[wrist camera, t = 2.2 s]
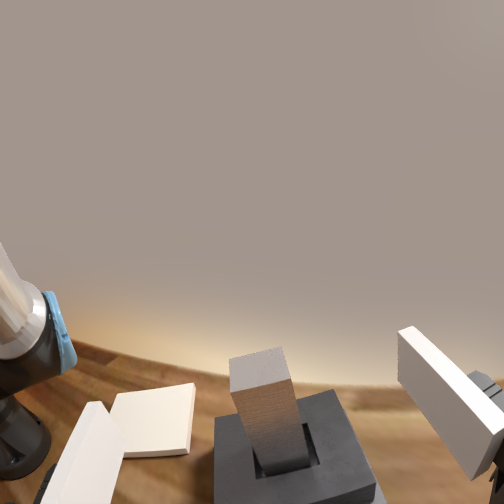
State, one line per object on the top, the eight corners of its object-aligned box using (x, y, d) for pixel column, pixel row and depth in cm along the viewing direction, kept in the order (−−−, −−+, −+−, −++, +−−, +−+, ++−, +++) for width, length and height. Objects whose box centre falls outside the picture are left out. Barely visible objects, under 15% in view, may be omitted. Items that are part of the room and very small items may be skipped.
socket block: (222, 584, 14) (202, 574, 13) (219, 444, 34) (206, 419, 32) (402, 544, 15) (411, 528, 13) (344, 413, 34) (341, 386, 33)
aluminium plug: (271, 489, 25) (230, 392, 21) (267, 459, 29) (229, 359, 25) (314, 480, 25) (290, 378, 21) (306, 450, 29) (281, 346, 25)
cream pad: (98, 457, 33) (94, 452, 32) (120, 398, 46) (117, 393, 46) (189, 453, 33) (185, 448, 32) (195, 388, 46) (193, 382, 46)
